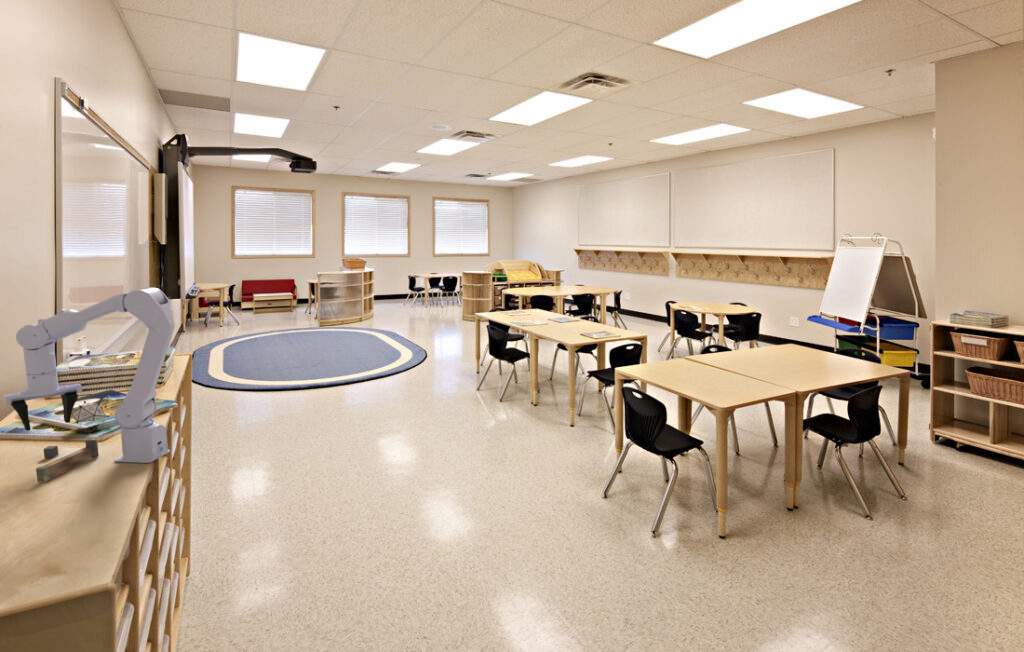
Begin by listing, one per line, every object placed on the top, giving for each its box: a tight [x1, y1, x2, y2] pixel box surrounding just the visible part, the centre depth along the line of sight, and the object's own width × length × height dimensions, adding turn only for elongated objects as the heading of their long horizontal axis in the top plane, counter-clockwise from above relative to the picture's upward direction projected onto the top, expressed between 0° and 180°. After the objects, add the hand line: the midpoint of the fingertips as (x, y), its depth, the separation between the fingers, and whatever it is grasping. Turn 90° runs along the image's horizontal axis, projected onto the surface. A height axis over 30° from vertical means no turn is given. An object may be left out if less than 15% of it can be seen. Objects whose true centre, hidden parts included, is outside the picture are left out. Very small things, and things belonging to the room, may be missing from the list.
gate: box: [35, 437, 99, 483], centre depth 132 cm, size 16×2×5 cm, turn 178°
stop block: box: [43, 445, 59, 459], centre depth 140 cm, size 2×2×2 cm
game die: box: [71, 400, 110, 424], centre depth 161 cm, size 9×8×10 cm
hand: (47, 425), depth 135 cm, fingers open, 7 cm apart
